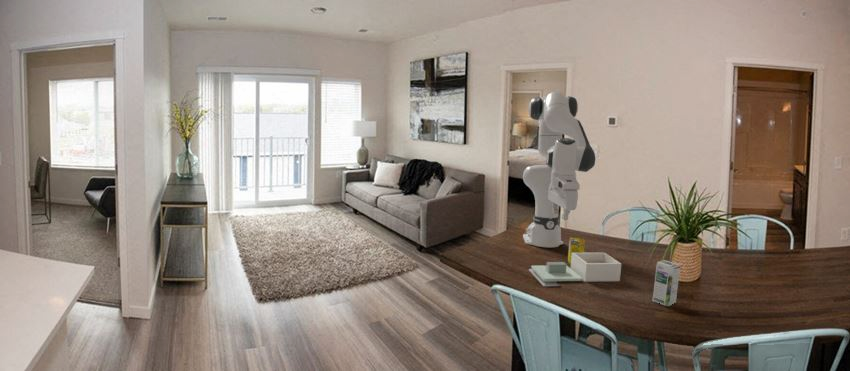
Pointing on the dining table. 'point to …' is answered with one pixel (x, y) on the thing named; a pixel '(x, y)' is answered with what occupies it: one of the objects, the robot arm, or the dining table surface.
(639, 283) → the dining table surface
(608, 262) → the storage box
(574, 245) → the supplement box
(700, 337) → the dining table surface
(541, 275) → the lid
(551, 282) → the rubber mat
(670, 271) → the syrup box
